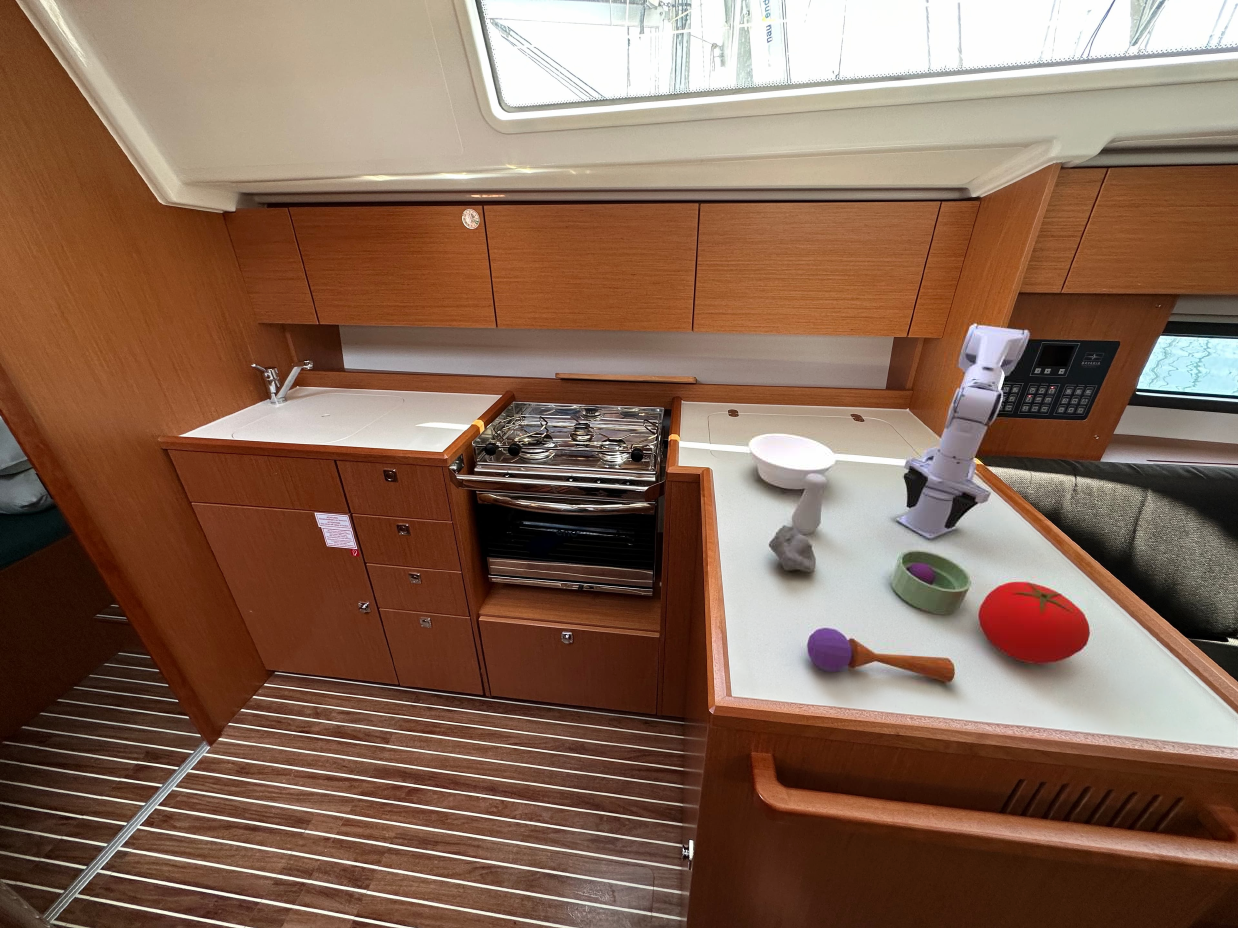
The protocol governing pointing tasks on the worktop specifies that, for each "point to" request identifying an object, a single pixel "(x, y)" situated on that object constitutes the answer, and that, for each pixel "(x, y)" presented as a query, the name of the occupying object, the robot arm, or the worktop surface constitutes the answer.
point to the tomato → (1033, 623)
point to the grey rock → (793, 549)
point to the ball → (922, 572)
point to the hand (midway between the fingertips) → (929, 516)
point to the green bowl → (941, 593)
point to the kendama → (870, 656)
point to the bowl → (789, 459)
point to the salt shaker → (810, 505)
